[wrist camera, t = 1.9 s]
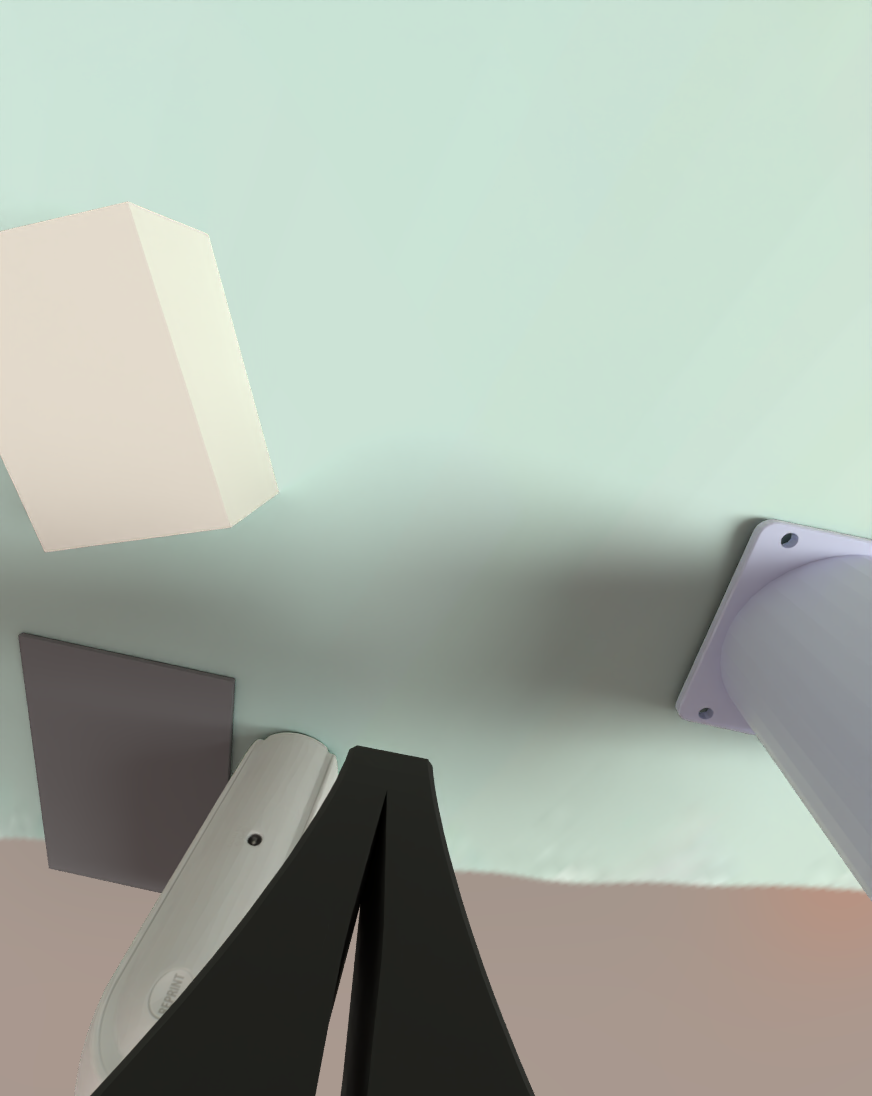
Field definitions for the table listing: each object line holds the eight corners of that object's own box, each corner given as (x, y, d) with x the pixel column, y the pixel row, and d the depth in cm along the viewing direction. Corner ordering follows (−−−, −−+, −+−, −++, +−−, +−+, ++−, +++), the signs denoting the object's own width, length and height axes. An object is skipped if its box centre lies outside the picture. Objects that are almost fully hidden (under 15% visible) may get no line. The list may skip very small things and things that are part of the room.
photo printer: (249, 718, 22) (-7, 1125, 11) (348, 737, 22) (199, 1169, 10) (244, 882, 26) (50, 1311, 14) (328, 899, 26) (202, 1345, 14)
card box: (212, 235, 16) (127, 201, 12) (281, 490, 18) (231, 527, 15) (37, 273, 16) (-93, 253, 13) (129, 512, 19) (44, 552, 16)
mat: (235, 678, 21) (232, 681, 21) (223, 902, 26) (221, 906, 26) (22, 632, 21) (18, 635, 21) (52, 864, 27) (49, 868, 26)
